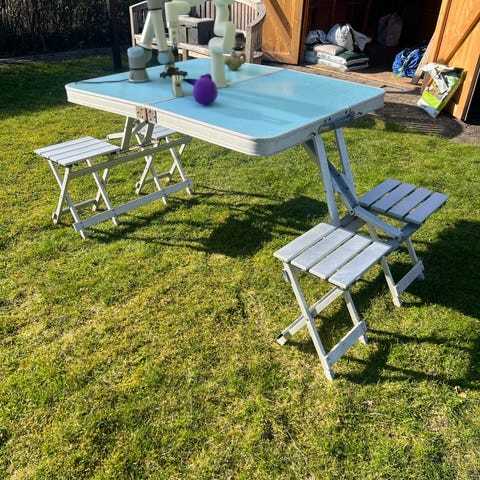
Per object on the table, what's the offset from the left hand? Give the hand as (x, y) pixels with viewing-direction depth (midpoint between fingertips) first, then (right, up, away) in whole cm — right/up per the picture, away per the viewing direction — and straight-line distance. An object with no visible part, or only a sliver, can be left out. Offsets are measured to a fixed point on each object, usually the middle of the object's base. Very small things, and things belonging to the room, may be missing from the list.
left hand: (174, 76), depth 320 cm
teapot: (+42, +24, +53) cm, 72 cm away
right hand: (+6, 0, -38) cm, 39 cm away
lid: (+5, -11, -24) cm, 27 cm away
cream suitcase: (+5, -19, -19) cm, 27 cm away
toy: (+23, -32, -43) cm, 58 cm away
